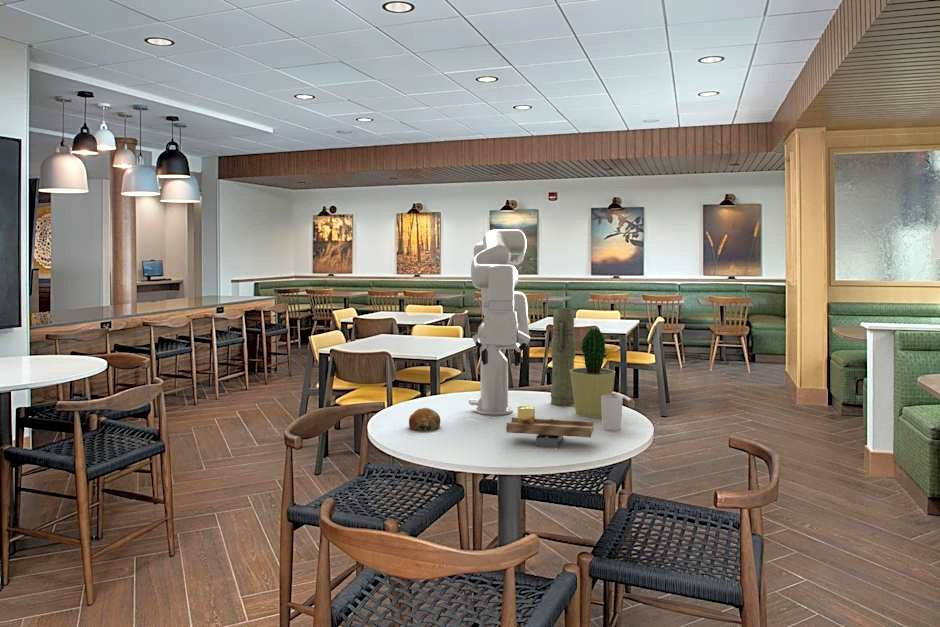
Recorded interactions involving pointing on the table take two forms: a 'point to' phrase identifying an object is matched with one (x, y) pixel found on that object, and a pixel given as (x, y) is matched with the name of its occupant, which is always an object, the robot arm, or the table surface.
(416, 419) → the bread roll
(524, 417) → the rider
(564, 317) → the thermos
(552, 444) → the fulcrum
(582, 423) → the beam
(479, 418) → the table surface
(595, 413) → the potted cactus
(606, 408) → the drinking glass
